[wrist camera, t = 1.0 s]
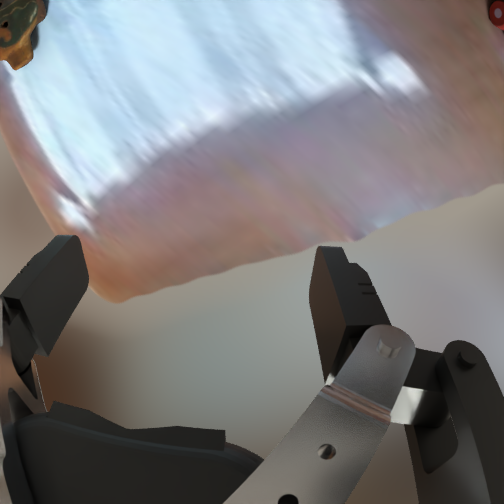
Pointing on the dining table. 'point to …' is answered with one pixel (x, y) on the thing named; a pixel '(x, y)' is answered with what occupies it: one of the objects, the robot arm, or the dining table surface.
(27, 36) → the decorative turtle
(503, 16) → the toy fire truck
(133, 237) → the dining table surface
